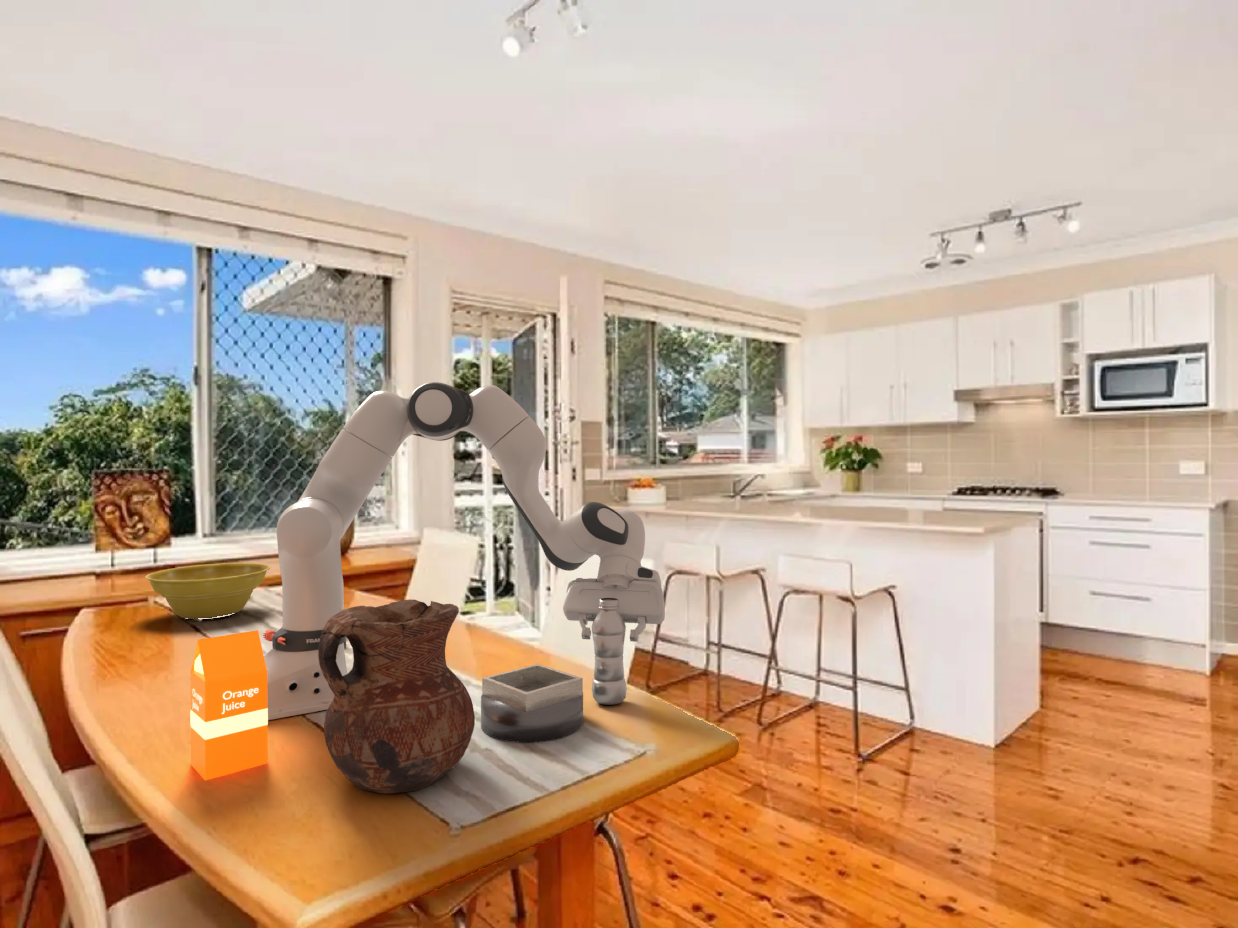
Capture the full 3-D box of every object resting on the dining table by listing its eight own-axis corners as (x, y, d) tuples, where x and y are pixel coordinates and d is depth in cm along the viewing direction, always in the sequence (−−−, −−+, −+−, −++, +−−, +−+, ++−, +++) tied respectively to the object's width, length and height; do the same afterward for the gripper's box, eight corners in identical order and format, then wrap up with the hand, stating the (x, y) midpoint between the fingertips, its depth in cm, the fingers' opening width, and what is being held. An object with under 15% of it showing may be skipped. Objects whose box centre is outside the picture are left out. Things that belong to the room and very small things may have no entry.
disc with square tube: (522, 751, 118) (522, 702, 118) (455, 720, 132) (455, 675, 132) (604, 722, 131) (604, 677, 131) (535, 696, 145) (535, 656, 145)
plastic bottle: (623, 709, 138) (623, 603, 137) (587, 707, 139) (588, 601, 139) (629, 698, 144) (629, 596, 144) (595, 696, 145) (595, 595, 145)
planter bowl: (116, 626, 204) (116, 577, 204) (201, 603, 235) (200, 561, 235) (221, 630, 198) (220, 581, 198) (293, 606, 230) (292, 563, 230)
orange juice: (268, 763, 114) (267, 634, 113) (205, 780, 108) (204, 644, 107) (251, 748, 119) (250, 625, 119) (190, 764, 113) (189, 634, 113)
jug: (394, 737, 124) (393, 589, 124) (501, 757, 116) (501, 599, 116) (289, 793, 104) (288, 616, 103) (410, 822, 96) (410, 630, 95)
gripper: (566, 569, 151) (554, 627, 141) (666, 572, 147) (660, 632, 138) (572, 586, 155) (560, 644, 146) (668, 590, 152) (662, 649, 142)
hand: (609, 638), depth 142 cm, fingers open, 8 cm apart
